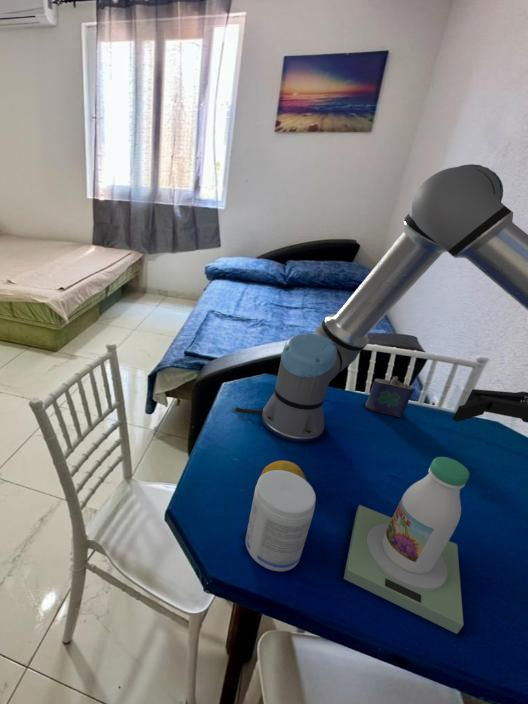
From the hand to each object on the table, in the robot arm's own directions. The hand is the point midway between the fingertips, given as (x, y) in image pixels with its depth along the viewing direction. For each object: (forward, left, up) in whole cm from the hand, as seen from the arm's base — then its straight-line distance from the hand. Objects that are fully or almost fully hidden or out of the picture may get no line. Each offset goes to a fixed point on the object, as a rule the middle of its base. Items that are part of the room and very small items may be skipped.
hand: (501, 440), depth 62 cm
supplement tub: (-26, -17, -26) cm, 40 cm away
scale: (-6, -8, -26) cm, 27 cm away
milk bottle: (-6, -8, -23) cm, 25 cm away
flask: (-12, +42, -26) cm, 51 cm away
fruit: (-28, -4, -26) cm, 38 cm away
